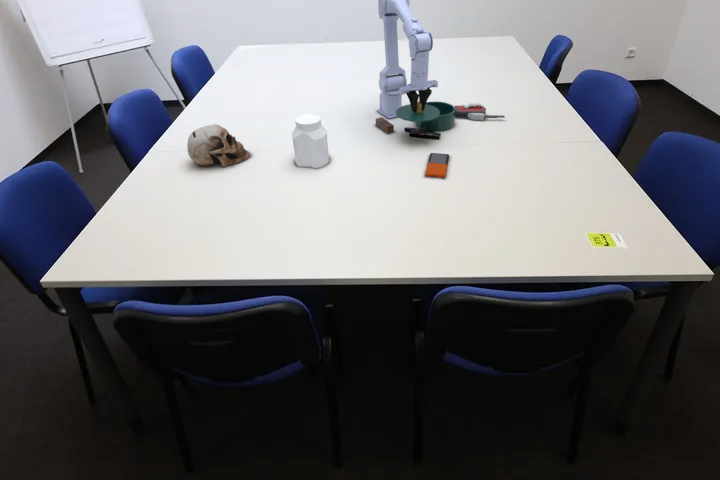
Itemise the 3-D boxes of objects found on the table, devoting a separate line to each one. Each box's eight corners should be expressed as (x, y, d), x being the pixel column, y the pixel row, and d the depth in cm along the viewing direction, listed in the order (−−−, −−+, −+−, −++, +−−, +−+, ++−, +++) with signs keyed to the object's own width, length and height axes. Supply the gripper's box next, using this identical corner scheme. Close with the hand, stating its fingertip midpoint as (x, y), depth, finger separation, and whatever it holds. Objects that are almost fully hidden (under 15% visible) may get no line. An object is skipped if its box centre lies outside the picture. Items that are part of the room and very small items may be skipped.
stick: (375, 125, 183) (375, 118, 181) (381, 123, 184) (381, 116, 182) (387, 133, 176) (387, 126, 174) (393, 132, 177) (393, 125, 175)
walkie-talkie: (451, 120, 184) (504, 121, 182) (452, 109, 181) (506, 110, 179) (451, 111, 191) (501, 112, 189) (452, 101, 188) (503, 101, 186)
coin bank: (254, 154, 165) (243, 119, 157) (218, 180, 156) (204, 144, 147) (224, 145, 173) (212, 112, 165) (188, 169, 163) (173, 135, 155)
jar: (291, 165, 158) (285, 123, 149) (301, 153, 166) (296, 112, 157) (323, 169, 156) (320, 126, 147) (332, 155, 163) (329, 114, 154)
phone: (424, 173, 149) (430, 152, 160) (424, 177, 150) (429, 155, 161) (445, 175, 148) (449, 153, 159) (445, 178, 148) (449, 156, 160)
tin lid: (388, 112, 170) (388, 100, 168) (423, 103, 176) (424, 92, 173) (411, 127, 159) (411, 114, 157) (448, 117, 165) (449, 105, 162)
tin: (409, 121, 185) (409, 106, 181) (439, 113, 190) (440, 98, 186) (429, 134, 175) (430, 119, 171) (461, 126, 180) (463, 110, 176)
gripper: (407, 78, 153) (406, 118, 161) (444, 70, 158) (441, 109, 166) (396, 72, 158) (395, 111, 166) (432, 65, 163) (430, 103, 171)
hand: (417, 110), depth 167 cm, fingers closed on tin lid, 2 cm apart
